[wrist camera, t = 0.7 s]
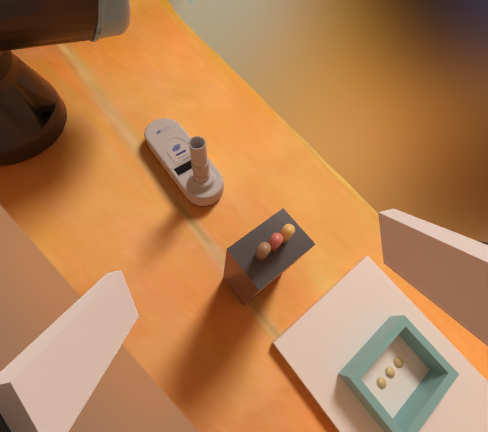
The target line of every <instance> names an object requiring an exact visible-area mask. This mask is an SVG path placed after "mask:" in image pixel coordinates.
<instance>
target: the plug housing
mask: <svg viewBox="0 0 488 432" xmlns="http://www.w3.org/2000/svg"><path fill="white" fill-rule="evenodd" d="M314 245H315V243H314V242H313V241H312V240H311V239H310V238H309V237H308V235H307V234H306V233H305V232H304V231H303V230H302V229H301V228H300V227H299V225H298V224H297V223H296V222H295V221H294V220H293V219H292V218H291V217H290V215H289V214H288V213H287V212H286V211H285V210H284V209H281V210H280V211H279V212H277V213H276V214H274V215H273V216H272V217H270V218H269V219H267V220H266V221H265V222H263V223H262V224H261V225H259V226H258V227H256V228H255V229H254V230H252V231H251V232H250V233H248V234H247V235H245V236H244V237H243V238H241V239H240V240H238V241H237V242H236V243H234V244H233V245H232V246H230V247H229V248H227V252H226V260H225V268H224V276H223V278H224V279H225V280H226V282H227V283H228V284H229V286H230V287H231V288H232V290H233V291H234V293H235V294H236V295H237V297H238V298H239V299H240V301H241V302H242V303H243V305H245V304H246V303H247V302H249V301H250V300H251V299H252V298H253V297H255V296H256V295H257V294H258V293H259V292H261V291H262V290H263V289H264V288H265V287H267V286H268V285H269V284H270V283H271V282H273V281H274V280H275V279H276V278H277V277H279V276H280V275H281V274H282V273H283V272H284V271H286V270H287V269H288V268H289V267H290V266H291V265H292V264H294V263H295V262H296V261H297V260H298V259H299V258H300V257H301V256H303V255H304V254H305V253H306V252H307V251H308V250H309V249H311V248H312V247H313V246H314Z"/></svg>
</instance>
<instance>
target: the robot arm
mask: <svg viewBox="0 0 488 432" xmlns="http://www.w3.org/2000/svg"><path fill="white" fill-rule="evenodd" d="M129 22H130V6H129V0H0V165H8V164H12V163H16V162H20V161H23V160H26V159H28V158H30V157H32V156H34V155H36V154H38V153H40V152H41V151H43V150H44V149H46V148H47V147H48V146H50V145H51V144H52V143H53V142H54V141H55V140H56V139H57V138H58V136H59V135H60V133H61V132H62V130H63V128H64V126H65V123H66V118H67V112H66V107H65V104H64V102H63V101H62V99H61V98H60V96H59V95H58V93H57V92H56V90H55V89H54V88H53V86H52V85H51V84H50V83H49V82H47V81H46V80H45V79H44V78H43V77H41V76H40V75H39V74H38V73H36V72H35V71H34V70H33V69H31V68H30V67H29V66H28V65H26V64H25V63H24V62H23V61H22V60H20V59H19V58H18V57H17V56H15V55H14V54H13V53H12V52H11V50H15V49H23V48H31V47H39V46H47V45H55V44H63V43H71V42H79V41H87V40H90V41H92V42H96V41H97V40H99V39H100V38H105V37H111V36H117V35H120V34H123V33H124V32H125V31H126V29H127V28H128V25H129ZM378 214H379V223H380V232H381V242H382V251H383V260H384V264H385V265H387V266H388V267H389V268H390V269H392V270H393V271H394V272H395V273H397V274H398V275H399V276H401V277H402V278H403V279H404V280H406V281H407V282H408V283H409V284H411V285H412V286H413V287H414V288H416V289H417V290H418V291H419V292H421V293H422V294H423V295H424V296H426V297H427V298H428V299H429V300H431V301H432V302H433V303H434V304H436V305H437V306H438V307H439V308H441V309H442V310H443V311H444V312H446V313H447V314H448V315H449V316H451V317H452V318H453V319H454V320H456V321H457V322H458V323H459V324H461V325H462V326H463V327H464V328H466V329H467V330H468V331H469V332H471V333H472V334H473V335H475V336H476V337H477V338H478V339H480V340H481V341H482V342H483V343H485V344H486V345H487V346H488V243H486V242H481V241H475V240H473V239H471V238H468V237H465V236H463V235H460V234H458V233H455V232H453V231H450V230H447V229H445V228H442V227H440V226H437V225H435V224H432V223H429V222H427V221H424V220H421V219H419V218H416V217H414V216H411V215H409V214H406V213H404V212H401V211H399V210H396V209H391V210H386V211H382V212H378ZM138 317H139V315H138V312H137V310H136V307H135V304H134V302H133V299H132V297H131V294H130V291H129V289H128V286H127V284H126V281H125V278H124V276H123V273H122V270H119V271H114V272H110V273H107V274H106V275H104V276H103V277H102V278H101V279H100V280H99V281H98V282H97V283H96V284H95V285H94V286H93V287H92V288H90V289H89V290H88V291H87V292H86V293H85V294H84V295H83V296H82V297H81V298H80V299H79V300H78V301H77V302H75V303H74V304H73V305H72V306H71V307H70V308H69V309H68V310H67V311H66V312H65V313H64V314H62V315H61V316H60V317H59V318H58V319H57V320H56V321H55V322H54V323H53V324H52V325H51V326H50V327H49V328H48V329H46V330H45V331H44V332H43V333H42V334H41V335H40V336H39V337H38V338H37V339H36V340H35V341H33V342H32V343H31V344H30V345H29V346H28V347H27V348H26V349H25V350H24V351H23V352H22V353H20V354H19V355H18V356H17V357H16V358H15V359H14V360H13V361H12V362H11V363H10V364H9V365H8V366H6V367H5V368H4V369H3V370H2V371H1V372H0V432H68V431H69V429H70V428H71V426H72V425H73V423H74V422H75V420H76V418H77V417H78V415H79V413H80V412H81V410H82V408H83V407H84V405H85V404H86V402H87V400H88V399H89V397H90V395H91V394H92V392H93V390H94V389H95V387H96V385H97V384H98V382H99V380H100V379H101V377H102V376H103V374H104V372H105V371H106V369H107V367H108V366H109V364H110V363H111V361H112V359H113V357H114V356H115V354H116V353H117V351H118V349H119V348H120V346H121V345H122V343H123V341H124V340H125V338H126V336H127V335H128V333H129V331H130V330H131V328H132V327H133V325H134V323H135V322H136V320H137V318H138Z"/></svg>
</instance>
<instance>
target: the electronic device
mask: <svg viewBox="0 0 488 432" xmlns="http://www.w3.org/2000/svg"><path fill="white" fill-rule="evenodd" d="M145 138H146V141H147V144H148V146H149V148H150V150H151V151H152V152H153V154H154V155H155V156H156V158H157V159H158V160H159V162H160V163H161V165H162V166H163V167H164V169H165V170H166V171H167V173H168V174H169V175H170V177H171V178H172V179H173V181H174V182H175V183H176V185H177V186H178V187H179V189H180V190H181V191H182V193H183V194H184V195H185V197H186V198H187V199H188V200H189V201H190V202H191V203H193V204H195V205H198V206H207V205H211V204H213V203H215V202H216V201H218V200H219V198H220V197H221V196H222V193H223V177H222V175H221V173H220V172H219V170H218V169H217V168H216V167H215V166H214V164H213V163H212V162H211V161H210V160H209V158H208V157H207V149H206V141H205V139H204V138H203V137H200V136H195V137H192V138H191V137H190V136H189V135H188V133H187V132H186V131H185V130H184V129H183V127H182V126H181V125H180V124H179V123H178V122H176V121H174V120H172V119H168V118H163V119H158V120H155V121H153V122H152V123H150V124H149V125H148V126H147V127H146V129H145Z"/></svg>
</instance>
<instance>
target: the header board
mask: <svg viewBox="0 0 488 432" xmlns="http://www.w3.org/2000/svg"><path fill="white" fill-rule="evenodd" d="M272 343H273V345H274V346H275V347H276V349H277V350H278V351H279V353H280V354H281V355H282V357H283V358H284V359H285V361H286V362H287V363H288V365H289V366H290V367H291V369H292V370H293V371H294V373H295V374H296V375H297V377H298V378H299V380H300V381H301V382H302V384H303V385H304V386H305V388H306V389H307V390H308V392H309V393H310V394H311V396H312V397H313V398H314V400H315V401H316V402H317V404H318V405H319V406H320V408H321V409H322V410H323V412H324V413H325V414H326V416H327V417H328V418H329V420H330V421H331V422H332V424H333V425H334V426H335V428H336V429H337V430H338V432H488V381H487V380H486V379H485V378H484V377H483V376H482V375H481V374H480V373H479V372H478V371H477V370H476V369H475V368H474V367H473V366H472V364H471V363H470V362H469V361H468V360H467V359H466V358H465V357H464V356H463V355H462V354H461V353H460V352H459V351H458V350H457V349H456V348H455V347H454V346H453V345H452V343H451V342H450V341H449V340H448V339H447V338H446V337H445V336H444V335H443V334H442V333H441V332H440V331H439V330H438V329H437V328H436V327H435V326H434V325H433V324H432V322H431V321H430V320H429V319H428V318H427V317H426V316H425V315H424V314H423V313H422V312H421V311H420V310H419V309H418V308H417V307H416V306H415V305H414V304H413V303H412V301H411V300H410V299H409V298H408V297H407V296H406V295H405V294H404V293H403V292H402V291H401V290H400V289H399V288H398V287H397V286H396V285H395V284H394V283H393V282H392V280H391V279H390V278H389V277H388V276H387V275H386V274H385V273H384V272H383V271H382V270H381V269H380V268H379V267H378V266H377V265H376V264H375V263H374V262H373V261H372V259H371V258H370V257H369V256H366V257H364V258H363V259H361V260H360V261H359V262H358V263H357V264H356V265H355V266H354V267H353V268H352V269H351V270H350V271H349V272H347V273H346V274H345V275H344V276H343V277H342V278H341V279H340V280H339V281H338V282H337V283H336V284H335V285H334V286H332V287H331V288H330V289H329V290H328V291H327V292H326V293H325V294H324V295H323V296H322V297H321V298H320V299H318V300H317V301H316V302H315V303H314V304H313V305H312V306H311V307H310V308H309V309H308V310H307V311H306V312H304V313H303V314H302V315H301V316H300V317H299V318H298V319H297V320H296V321H295V322H294V323H293V324H292V325H290V326H289V327H288V328H287V329H286V330H285V331H284V332H283V333H282V334H281V335H280V336H279V337H278V338H276V339H275V340H274V341H273V342H272Z"/></svg>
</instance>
